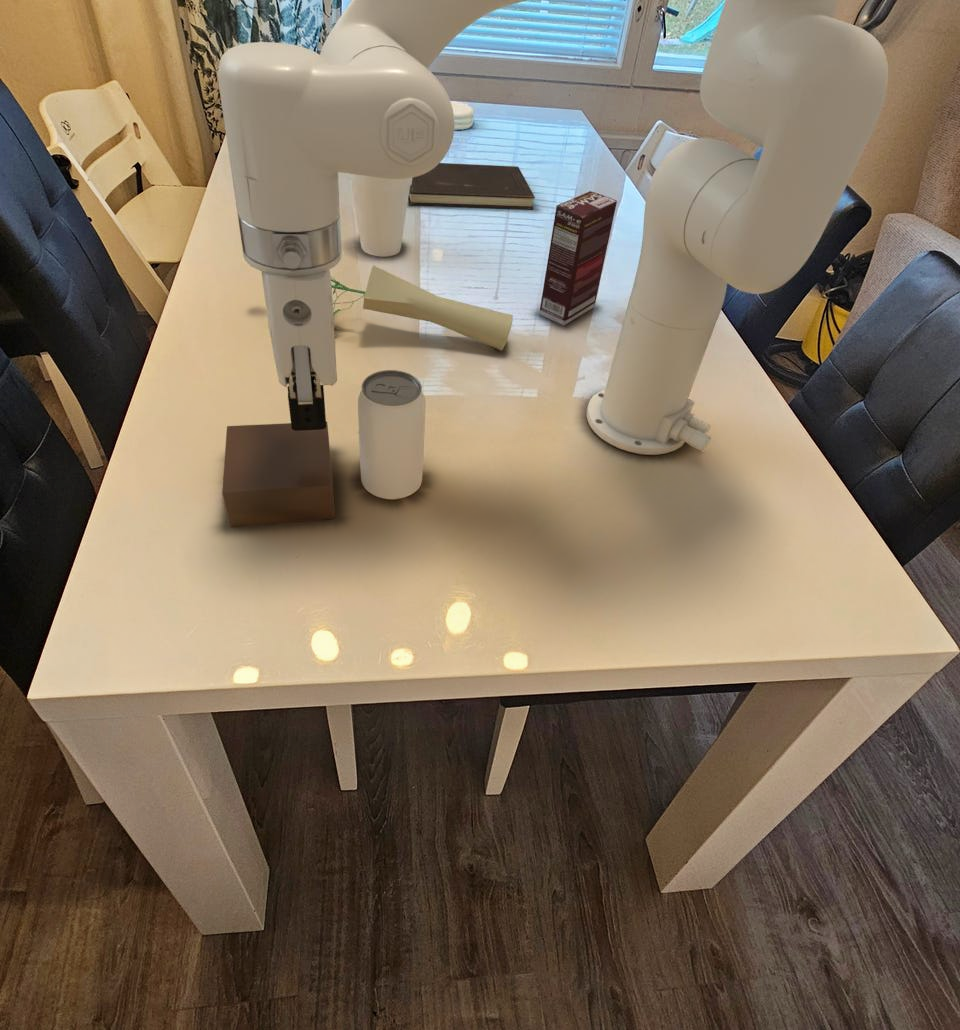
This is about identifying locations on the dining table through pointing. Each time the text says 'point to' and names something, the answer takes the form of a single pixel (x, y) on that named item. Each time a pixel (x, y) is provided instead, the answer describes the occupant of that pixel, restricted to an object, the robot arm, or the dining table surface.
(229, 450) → the walnut block
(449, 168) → the hardcover book
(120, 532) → the dining table surface
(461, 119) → the white stacked discs
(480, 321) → the flower vase
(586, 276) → the supplement box
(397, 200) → the foam cup
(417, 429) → the can
